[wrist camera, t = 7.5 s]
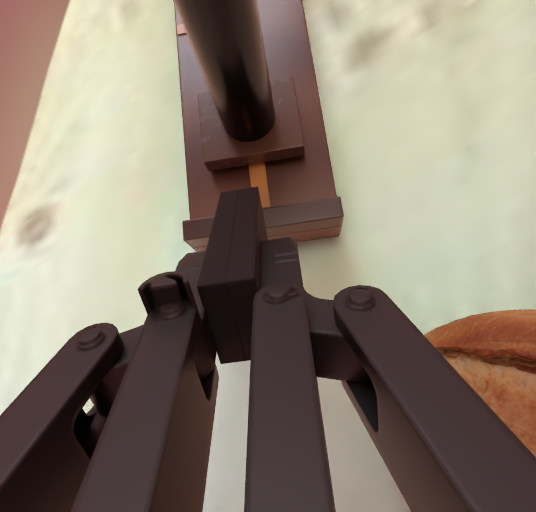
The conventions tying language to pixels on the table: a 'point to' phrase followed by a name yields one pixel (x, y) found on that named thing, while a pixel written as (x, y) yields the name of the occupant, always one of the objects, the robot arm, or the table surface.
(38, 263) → the table surface
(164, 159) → the table surface
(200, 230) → the rail
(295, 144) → the tap
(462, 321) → the bread roll
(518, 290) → the table surface
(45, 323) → the table surface
